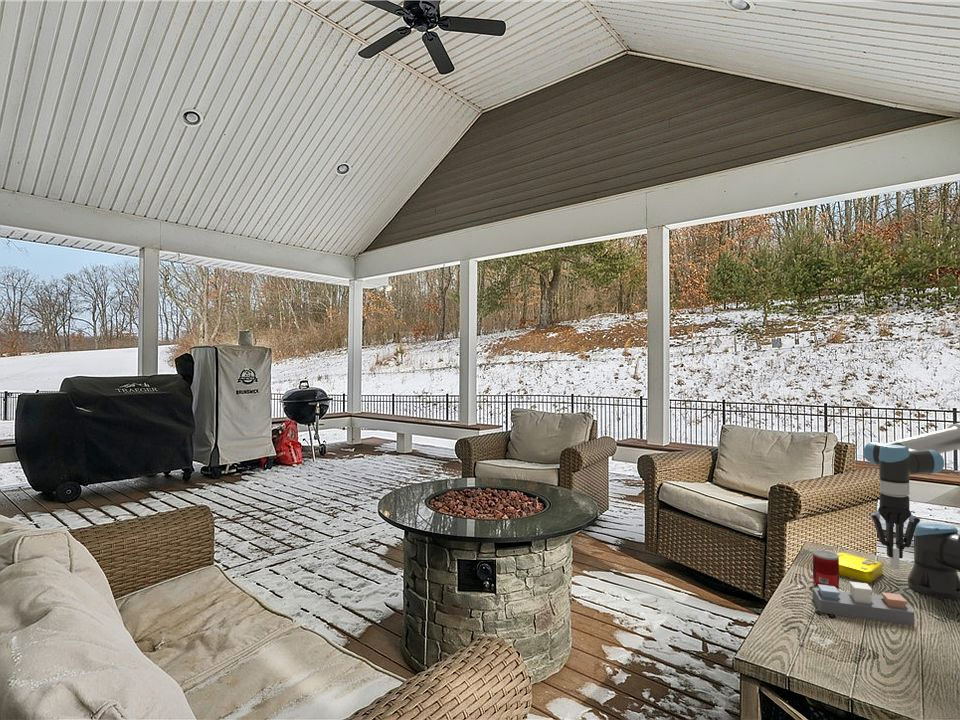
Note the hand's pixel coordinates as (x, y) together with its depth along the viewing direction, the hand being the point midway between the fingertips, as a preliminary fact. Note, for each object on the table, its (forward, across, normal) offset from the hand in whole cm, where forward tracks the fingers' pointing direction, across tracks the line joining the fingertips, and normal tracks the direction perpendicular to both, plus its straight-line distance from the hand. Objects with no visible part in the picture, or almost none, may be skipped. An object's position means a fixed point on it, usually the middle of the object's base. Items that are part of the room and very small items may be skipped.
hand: (894, 567), depth 169 cm
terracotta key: (+14, 0, 0) cm, 14 cm away
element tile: (+17, +1, -36) cm, 40 cm away
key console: (+16, +9, 0) cm, 18 cm away
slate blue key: (+14, +18, 0) cm, 23 cm away
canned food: (+16, +14, -20) cm, 29 cm away
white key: (+12, +9, 0) cm, 15 cm away
